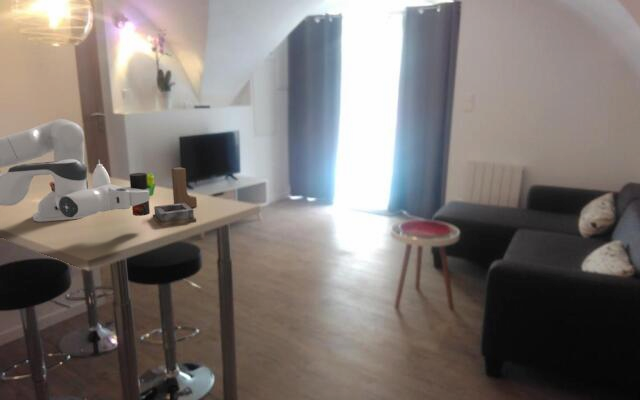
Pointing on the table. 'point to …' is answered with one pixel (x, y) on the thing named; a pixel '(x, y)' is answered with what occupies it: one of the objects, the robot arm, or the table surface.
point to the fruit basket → (150, 183)
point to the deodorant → (141, 189)
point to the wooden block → (181, 188)
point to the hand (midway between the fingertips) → (141, 189)
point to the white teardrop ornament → (100, 176)
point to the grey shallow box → (173, 214)
